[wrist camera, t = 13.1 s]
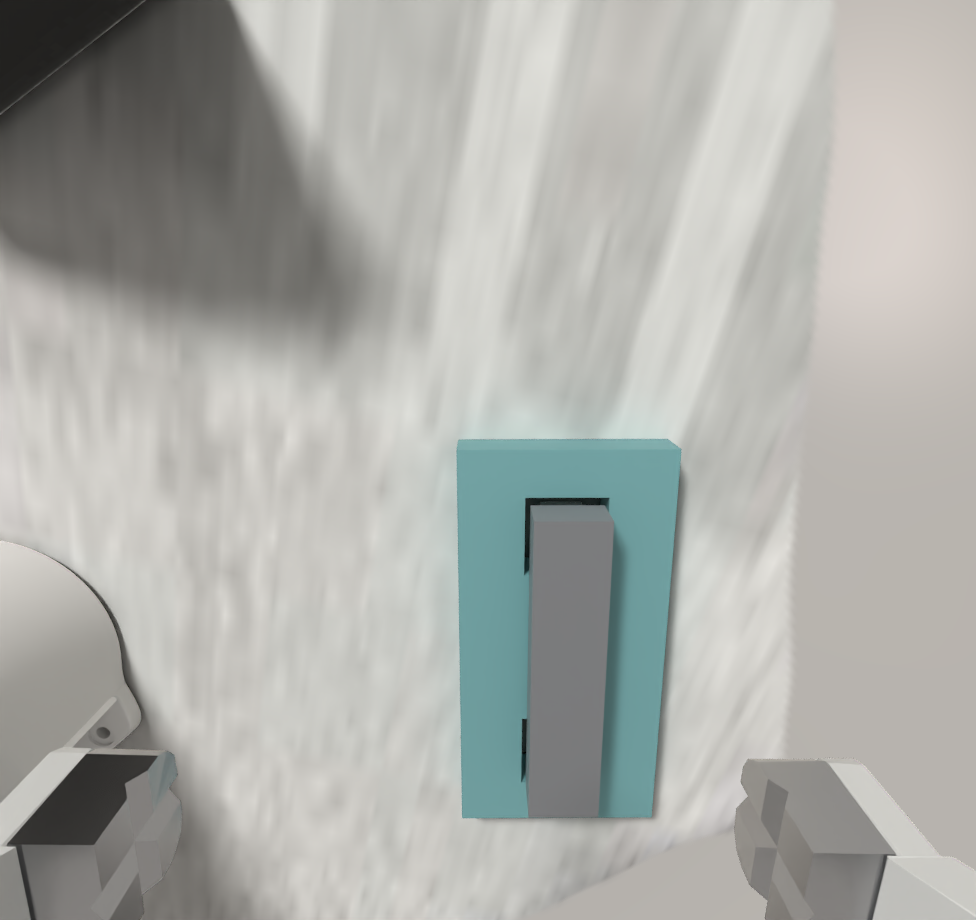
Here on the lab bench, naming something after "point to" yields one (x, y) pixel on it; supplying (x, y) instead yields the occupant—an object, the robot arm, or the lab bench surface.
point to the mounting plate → (505, 608)
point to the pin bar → (567, 656)
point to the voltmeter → (48, 38)
